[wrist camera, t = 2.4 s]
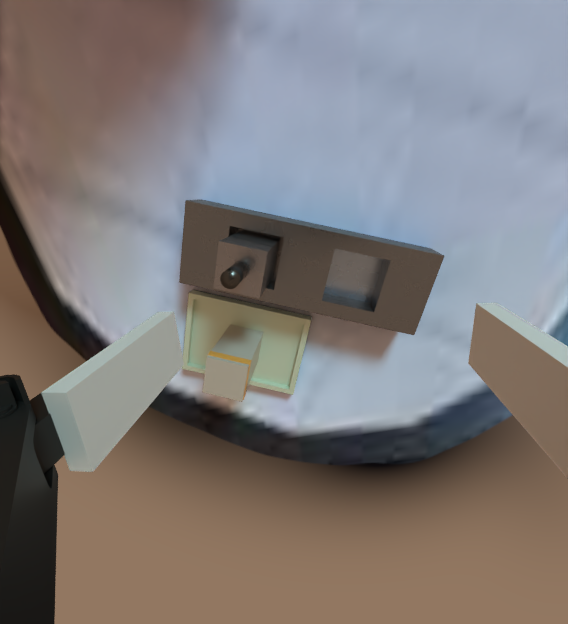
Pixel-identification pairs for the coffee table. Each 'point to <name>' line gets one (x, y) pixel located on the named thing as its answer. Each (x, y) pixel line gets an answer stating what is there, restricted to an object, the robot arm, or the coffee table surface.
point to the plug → (232, 363)
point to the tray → (272, 322)
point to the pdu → (307, 265)
